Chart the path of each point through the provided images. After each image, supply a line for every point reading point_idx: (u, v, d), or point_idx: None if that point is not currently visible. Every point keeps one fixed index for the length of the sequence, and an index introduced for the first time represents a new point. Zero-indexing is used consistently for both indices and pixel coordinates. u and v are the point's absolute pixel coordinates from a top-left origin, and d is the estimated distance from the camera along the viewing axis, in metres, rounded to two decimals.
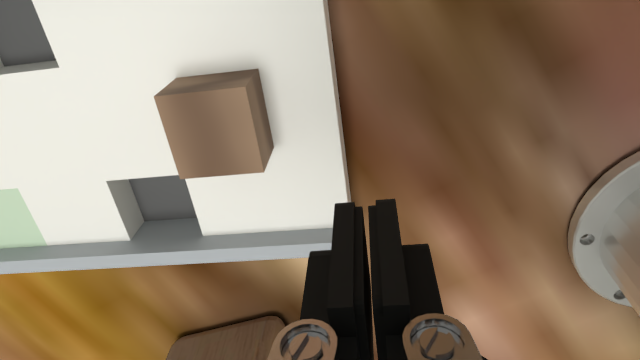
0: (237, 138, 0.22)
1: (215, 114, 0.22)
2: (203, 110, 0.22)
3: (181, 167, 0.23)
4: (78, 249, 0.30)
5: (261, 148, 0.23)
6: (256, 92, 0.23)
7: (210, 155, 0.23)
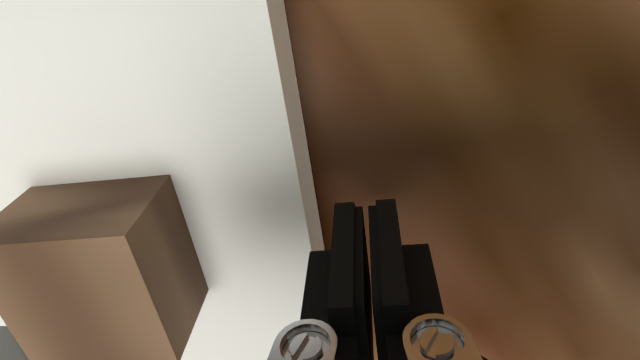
0: (122, 314, 0.12)
1: (77, 278, 0.12)
2: (53, 272, 0.12)
3: (33, 352, 0.13)
4: None
5: (171, 323, 0.13)
6: (162, 223, 0.13)
7: (80, 337, 0.13)
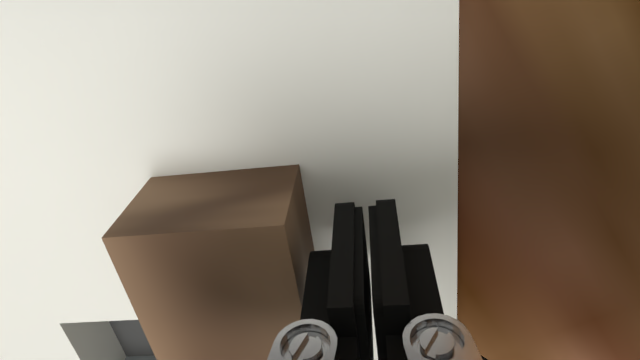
0: (263, 308, 0.12)
1: (223, 270, 0.11)
2: (200, 263, 0.11)
3: (160, 347, 0.13)
4: None
5: None
6: (298, 214, 0.12)
7: (214, 331, 0.12)
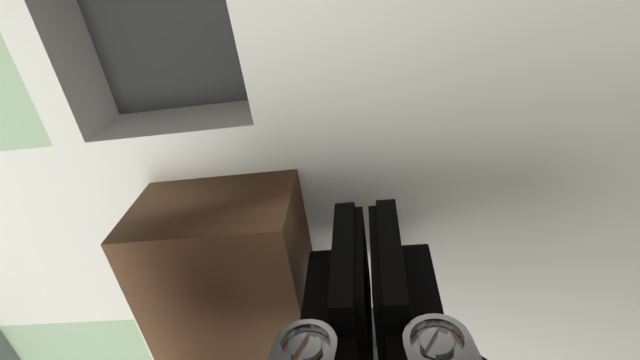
0: (262, 313, 0.12)
1: (223, 276, 0.11)
2: (199, 269, 0.11)
3: (160, 352, 0.13)
4: None
5: None
6: (296, 219, 0.12)
7: (213, 336, 0.12)
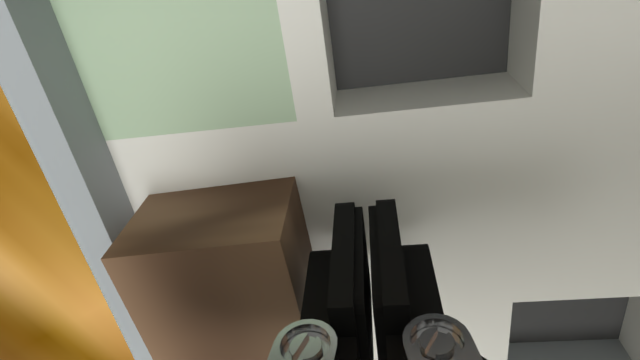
0: (264, 321, 0.12)
1: (223, 286, 0.11)
2: (199, 280, 0.11)
3: None
4: None
5: None
6: (295, 226, 0.12)
7: (216, 346, 0.12)
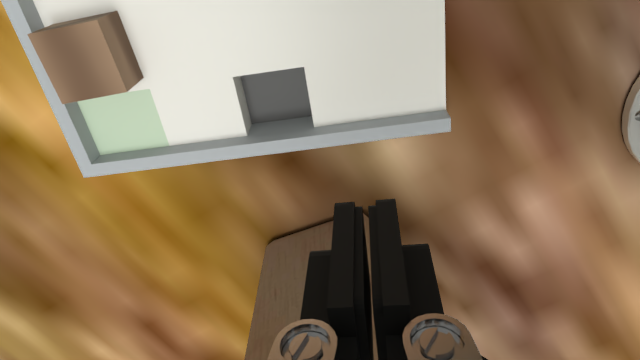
0: (99, 64, 0.28)
1: (79, 45, 0.28)
2: (69, 43, 0.28)
3: (61, 93, 0.29)
4: (202, 145, 0.33)
5: (122, 72, 0.29)
6: (114, 28, 0.29)
7: (82, 80, 0.29)
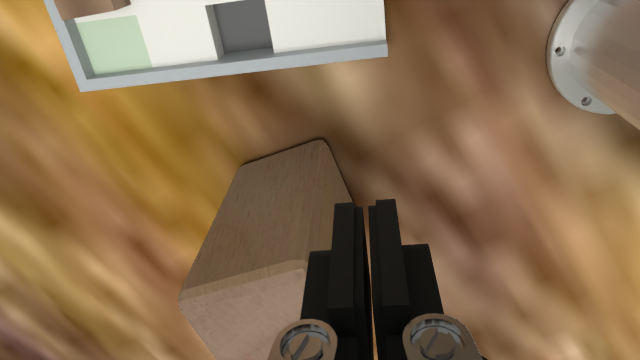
0: None
1: None
2: None
3: (61, 11, 0.36)
4: (179, 66, 0.39)
5: None
6: None
7: (78, 0, 0.35)
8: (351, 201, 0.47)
